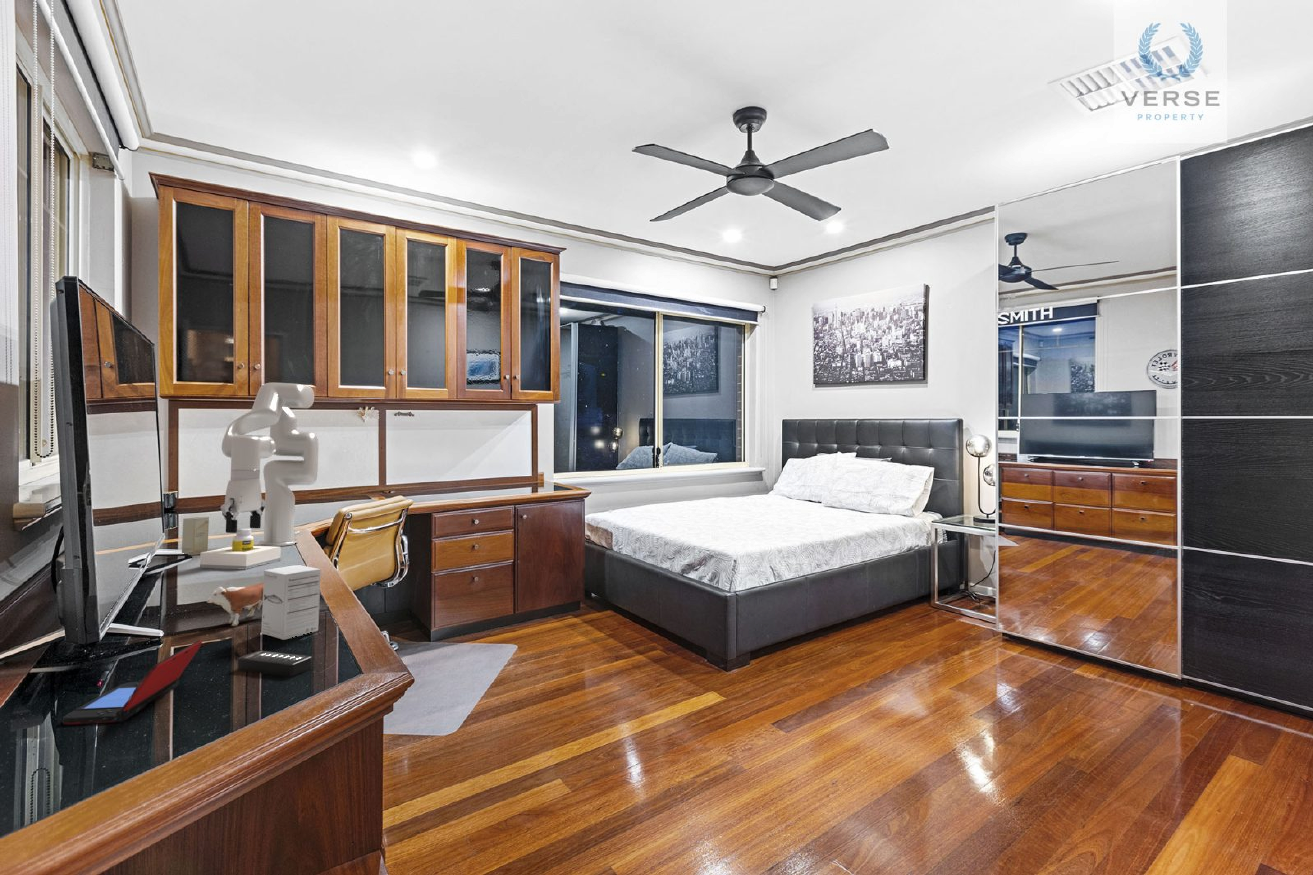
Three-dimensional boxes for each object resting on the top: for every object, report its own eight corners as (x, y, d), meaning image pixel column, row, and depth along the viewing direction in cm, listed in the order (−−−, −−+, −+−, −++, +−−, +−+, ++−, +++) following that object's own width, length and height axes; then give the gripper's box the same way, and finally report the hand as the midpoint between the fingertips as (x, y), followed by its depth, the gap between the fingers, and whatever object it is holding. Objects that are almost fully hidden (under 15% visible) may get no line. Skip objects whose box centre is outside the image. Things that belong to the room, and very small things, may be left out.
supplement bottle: (241, 562, 183) (243, 530, 183) (227, 561, 184) (228, 529, 184) (257, 559, 188) (258, 528, 189) (242, 558, 190) (243, 527, 190)
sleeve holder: (237, 559, 194) (238, 545, 194) (280, 560, 193) (280, 546, 193) (199, 567, 179) (200, 552, 179) (246, 569, 178) (246, 554, 178)
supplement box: (259, 634, 117) (262, 569, 118) (297, 625, 124) (299, 564, 124) (282, 641, 114) (284, 574, 114) (319, 631, 120) (322, 567, 121)
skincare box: (193, 555, 199) (195, 518, 199) (180, 555, 199) (182, 518, 199) (208, 552, 205) (209, 516, 205) (195, 552, 205) (197, 516, 206)
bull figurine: (201, 629, 120) (203, 588, 120) (263, 612, 133) (264, 575, 133) (217, 631, 119) (219, 590, 119) (278, 614, 132) (279, 577, 132)
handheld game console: (123, 689, 90) (125, 640, 90) (203, 686, 92) (205, 637, 92) (56, 727, 78) (58, 669, 78) (150, 722, 80) (152, 666, 80)
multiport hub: (291, 679, 96) (291, 664, 96) (235, 672, 99) (236, 658, 99) (312, 669, 100) (313, 655, 100) (259, 663, 103) (259, 649, 103)
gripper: (254, 473, 196) (252, 526, 196) (211, 476, 179) (209, 534, 178) (276, 474, 195) (274, 527, 195) (235, 477, 178) (233, 535, 178)
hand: (243, 530), depth 187 cm, fingers open, 9 cm apart
